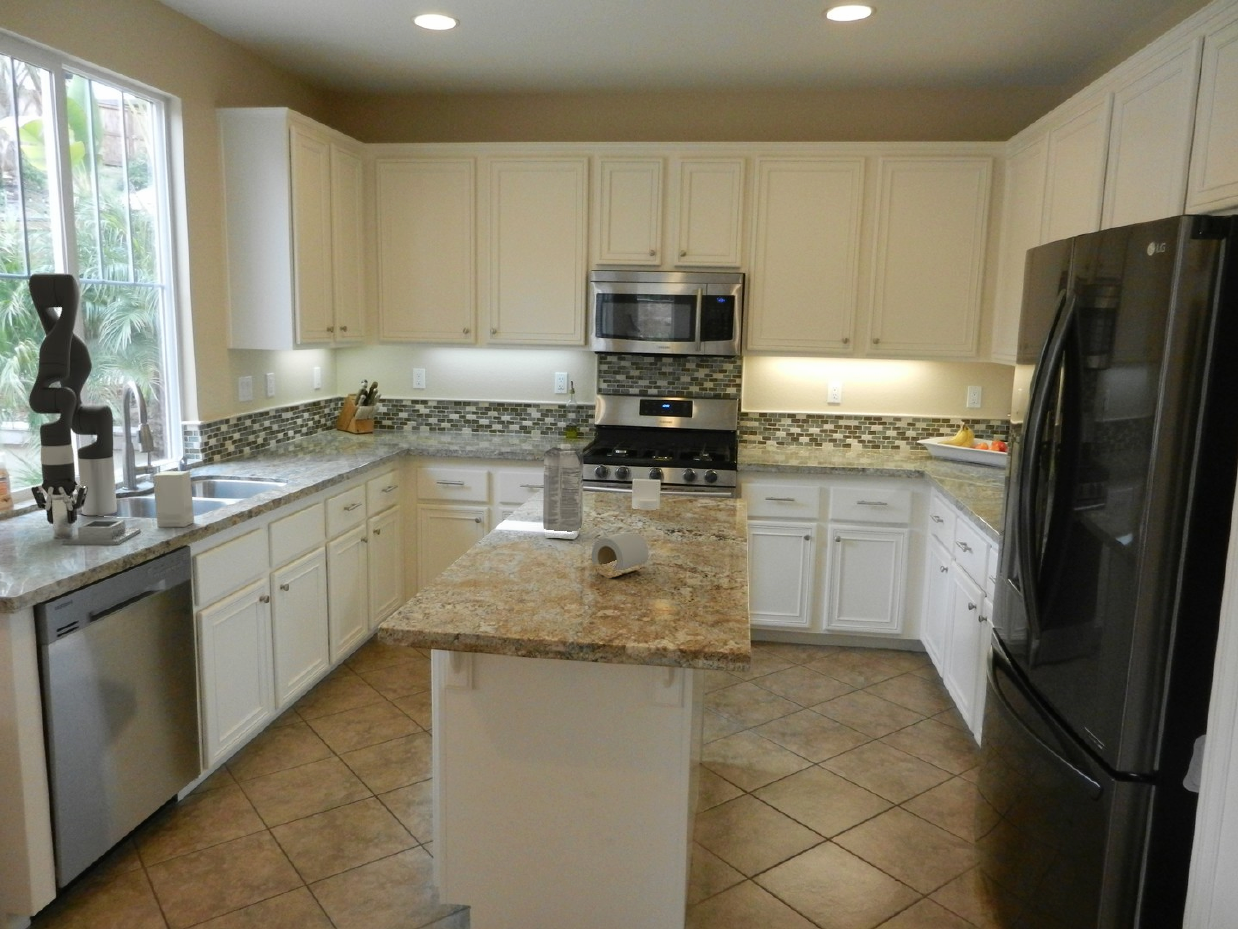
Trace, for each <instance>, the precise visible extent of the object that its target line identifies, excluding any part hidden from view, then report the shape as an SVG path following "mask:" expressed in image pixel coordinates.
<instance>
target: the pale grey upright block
mask: <svg viewBox="0 0 1238 929" xmlns="http://www.w3.org/2000/svg"><path fill="white" fill-rule="evenodd" d="M50 496H51V499H52V500H51V504H52V517H53V524H52V527H53V537H54V539H67V538H69V537H71V536H73V535H74V531H73V530H74V529H73V524H69V519H68V511H69V509H68V507H67V504H66V503H65V502H64V500H63V498H64V496H65V495H61V494H53V495H50ZM70 497H71V496H69V499H70Z"/></svg>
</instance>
